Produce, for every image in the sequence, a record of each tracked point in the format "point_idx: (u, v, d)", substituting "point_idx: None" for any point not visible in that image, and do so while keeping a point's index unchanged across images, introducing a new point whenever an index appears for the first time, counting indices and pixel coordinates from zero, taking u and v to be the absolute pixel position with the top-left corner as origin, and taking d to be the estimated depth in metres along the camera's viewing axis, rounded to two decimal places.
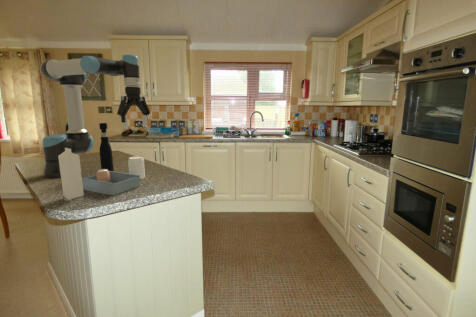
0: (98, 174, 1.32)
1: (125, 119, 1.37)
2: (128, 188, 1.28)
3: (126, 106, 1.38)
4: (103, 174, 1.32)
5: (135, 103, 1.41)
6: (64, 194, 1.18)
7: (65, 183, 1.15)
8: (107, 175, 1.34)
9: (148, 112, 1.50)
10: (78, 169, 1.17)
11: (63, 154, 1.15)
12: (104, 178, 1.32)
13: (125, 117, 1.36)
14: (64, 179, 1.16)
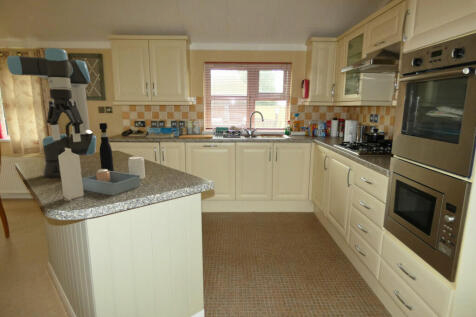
0: (98, 174, 1.31)
1: None
2: (128, 188, 1.28)
3: None
4: (103, 174, 1.32)
5: (60, 110, 1.11)
6: (64, 194, 1.18)
7: (65, 183, 1.15)
8: (107, 175, 1.33)
9: (75, 122, 1.08)
10: (78, 169, 1.17)
11: (63, 154, 1.15)
12: (104, 178, 1.32)
13: None
14: (64, 179, 1.16)
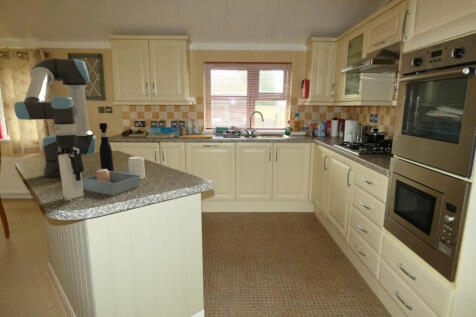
0: (98, 174, 1.32)
1: None
2: (128, 188, 1.28)
3: None
4: (103, 174, 1.32)
5: None
6: (64, 194, 1.18)
7: (65, 183, 1.15)
8: (107, 175, 1.34)
9: (76, 170, 1.14)
10: None
11: (63, 154, 1.15)
12: (104, 178, 1.33)
13: None
14: (64, 179, 1.16)
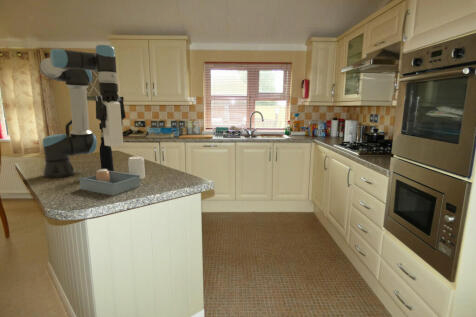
0: (98, 174, 1.31)
1: (105, 124, 1.20)
2: (128, 188, 1.28)
3: (103, 108, 1.19)
4: (103, 174, 1.32)
5: None
6: (114, 141, 1.23)
7: (118, 129, 1.24)
8: (107, 175, 1.34)
9: (123, 116, 1.28)
10: None
11: (111, 102, 1.21)
12: (105, 178, 1.33)
13: (105, 122, 1.20)
14: (116, 126, 1.23)
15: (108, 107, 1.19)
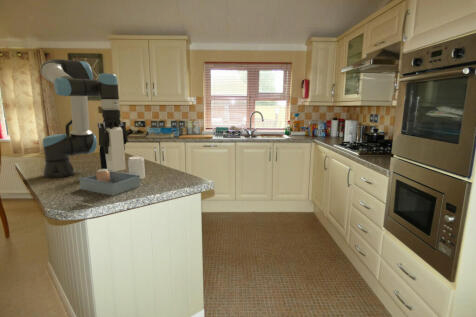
0: (99, 173, 1.32)
1: (108, 150, 1.22)
2: (128, 188, 1.28)
3: (106, 134, 1.22)
4: (104, 173, 1.32)
5: None
6: (117, 166, 1.25)
7: (120, 154, 1.26)
8: (108, 174, 1.34)
9: (125, 140, 1.30)
10: None
11: (113, 128, 1.23)
12: (105, 177, 1.33)
13: (108, 148, 1.22)
14: (118, 151, 1.25)
15: (111, 133, 1.21)
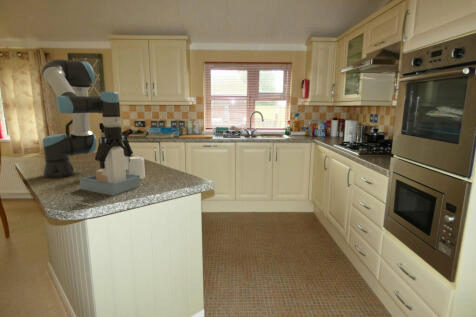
0: (99, 174, 1.31)
1: (104, 165, 1.21)
2: (128, 188, 1.28)
3: (105, 149, 1.22)
4: None
5: (115, 144, 1.26)
6: None
7: (122, 174, 1.28)
8: None
9: (130, 153, 1.34)
10: None
11: (115, 148, 1.25)
12: (106, 177, 1.33)
13: (104, 162, 1.21)
14: (120, 171, 1.27)
15: (112, 154, 1.23)
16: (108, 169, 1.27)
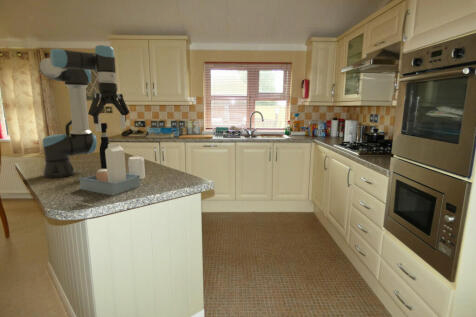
0: (100, 174, 1.31)
1: (98, 120, 1.19)
2: (128, 188, 1.28)
3: (99, 105, 1.20)
4: (106, 174, 1.33)
5: (111, 101, 1.24)
6: None
7: (122, 174, 1.28)
8: None
9: (127, 112, 1.32)
10: None
11: (115, 149, 1.25)
12: (107, 177, 1.33)
13: (98, 118, 1.19)
14: (120, 171, 1.27)
15: (113, 154, 1.23)
16: (108, 169, 1.26)
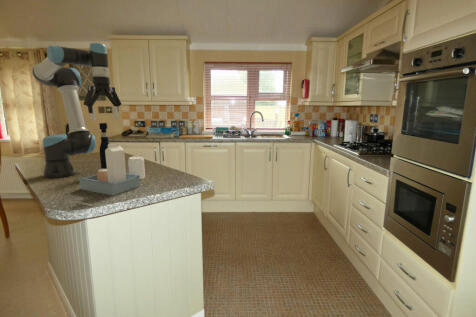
0: (102, 174, 1.32)
1: (92, 110, 1.32)
2: (128, 188, 1.28)
3: (94, 96, 1.33)
4: None
5: (104, 94, 1.37)
6: None
7: (122, 174, 1.28)
8: None
9: (119, 103, 1.46)
10: None
11: (115, 149, 1.25)
12: None
13: (92, 108, 1.32)
14: (120, 171, 1.27)
15: (113, 154, 1.23)
16: (108, 169, 1.26)
